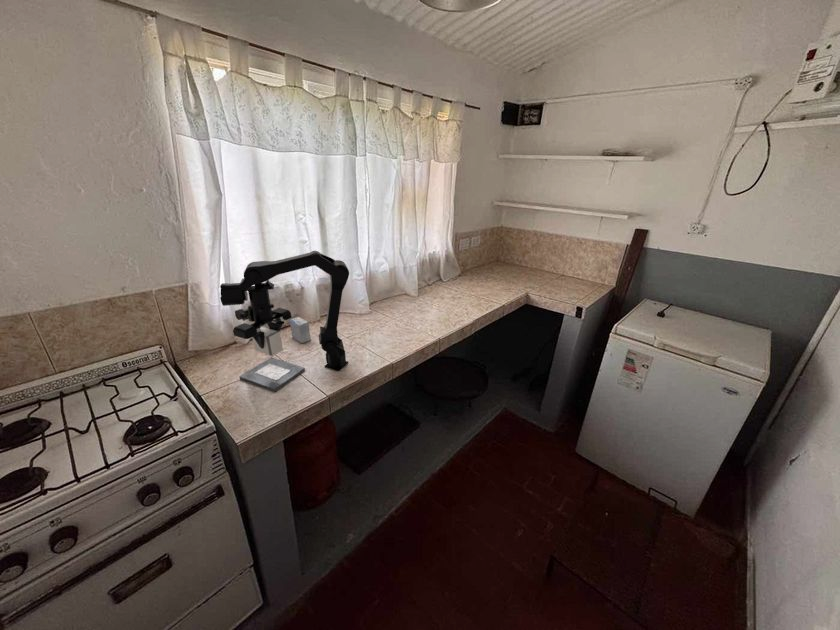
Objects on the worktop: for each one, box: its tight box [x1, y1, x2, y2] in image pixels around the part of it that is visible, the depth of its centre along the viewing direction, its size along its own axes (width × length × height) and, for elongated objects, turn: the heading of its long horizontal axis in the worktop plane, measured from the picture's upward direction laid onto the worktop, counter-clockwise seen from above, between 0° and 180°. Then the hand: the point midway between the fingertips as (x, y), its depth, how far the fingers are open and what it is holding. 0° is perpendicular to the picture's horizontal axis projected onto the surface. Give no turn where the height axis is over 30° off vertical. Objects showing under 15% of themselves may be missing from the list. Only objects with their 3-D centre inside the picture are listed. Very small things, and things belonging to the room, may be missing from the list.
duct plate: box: [239, 356, 306, 393], centre depth 115 cm, size 16×14×1 cm
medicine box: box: [289, 316, 311, 344], centre depth 138 cm, size 8×4×9 cm, turn 48°
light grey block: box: [251, 326, 284, 357], centre depth 110 cm, size 5×8×7 cm, turn 66°
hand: (268, 345), depth 110 cm, fingers closed on light grey block, 4 cm apart
